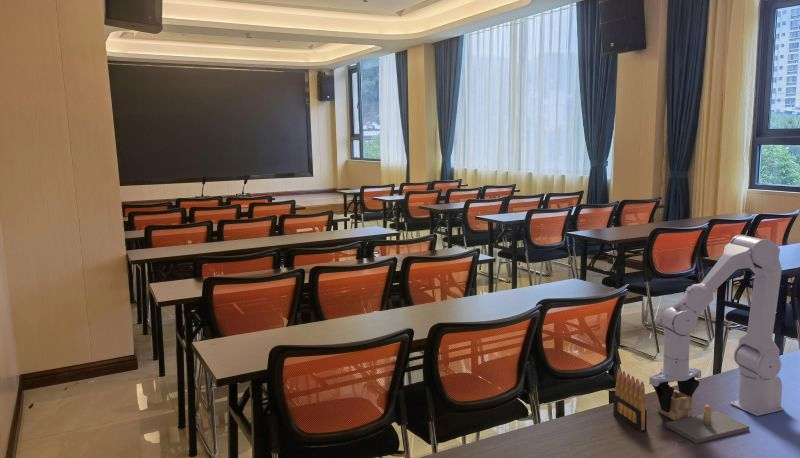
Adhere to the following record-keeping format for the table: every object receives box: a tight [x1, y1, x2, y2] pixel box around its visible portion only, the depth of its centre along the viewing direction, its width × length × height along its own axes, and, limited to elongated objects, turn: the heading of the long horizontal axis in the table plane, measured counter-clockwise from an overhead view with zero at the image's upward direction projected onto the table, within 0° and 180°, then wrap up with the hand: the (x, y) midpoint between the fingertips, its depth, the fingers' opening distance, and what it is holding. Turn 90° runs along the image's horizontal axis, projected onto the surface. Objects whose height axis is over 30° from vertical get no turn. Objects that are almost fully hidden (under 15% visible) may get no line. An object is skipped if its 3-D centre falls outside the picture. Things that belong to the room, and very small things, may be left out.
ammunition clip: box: [612, 368, 648, 432], centre depth 145 cm, size 11×2×12 cm, turn 15°
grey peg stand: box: [665, 404, 750, 444], centre depth 141 cm, size 16×9×6 cm, turn 110°
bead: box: [657, 388, 693, 421], centre depth 149 cm, size 5×5×5 cm
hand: (674, 408), depth 149 cm, fingers closed on bead, 5 cm apart
